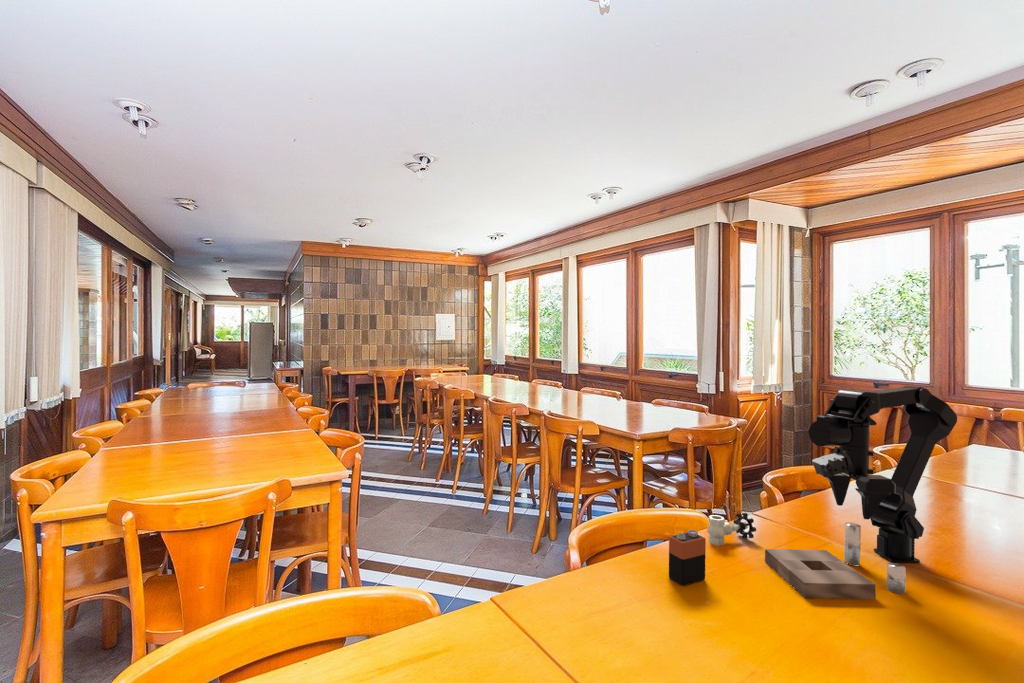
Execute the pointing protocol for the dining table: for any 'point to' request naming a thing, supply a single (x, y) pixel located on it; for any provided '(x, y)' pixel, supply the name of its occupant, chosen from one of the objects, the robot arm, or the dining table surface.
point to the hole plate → (819, 574)
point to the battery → (687, 557)
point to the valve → (728, 528)
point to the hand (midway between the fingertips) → (852, 512)
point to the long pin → (852, 543)
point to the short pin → (896, 578)
